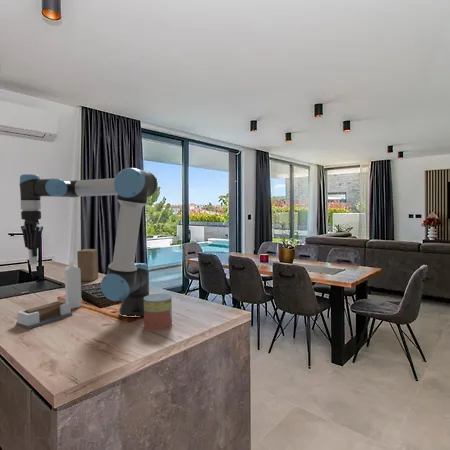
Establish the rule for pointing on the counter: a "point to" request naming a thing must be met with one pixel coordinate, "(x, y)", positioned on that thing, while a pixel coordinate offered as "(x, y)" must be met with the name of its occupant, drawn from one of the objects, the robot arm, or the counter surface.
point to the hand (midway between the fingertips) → (33, 263)
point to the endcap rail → (33, 319)
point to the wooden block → (88, 264)
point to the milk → (73, 285)
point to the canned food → (157, 312)
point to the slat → (46, 310)
